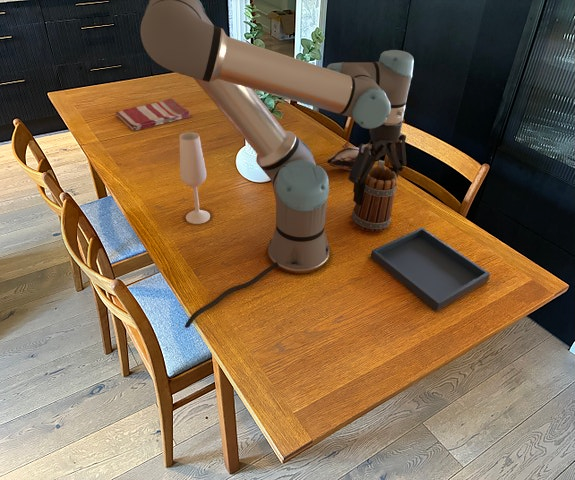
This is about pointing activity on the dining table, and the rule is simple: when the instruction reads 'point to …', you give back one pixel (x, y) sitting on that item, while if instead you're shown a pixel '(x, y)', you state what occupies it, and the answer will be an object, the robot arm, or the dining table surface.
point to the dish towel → (153, 114)
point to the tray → (430, 267)
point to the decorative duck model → (344, 157)
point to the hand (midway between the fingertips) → (373, 196)
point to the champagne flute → (193, 172)
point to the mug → (376, 200)
